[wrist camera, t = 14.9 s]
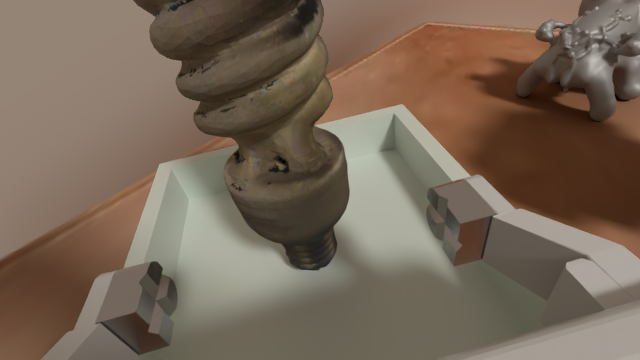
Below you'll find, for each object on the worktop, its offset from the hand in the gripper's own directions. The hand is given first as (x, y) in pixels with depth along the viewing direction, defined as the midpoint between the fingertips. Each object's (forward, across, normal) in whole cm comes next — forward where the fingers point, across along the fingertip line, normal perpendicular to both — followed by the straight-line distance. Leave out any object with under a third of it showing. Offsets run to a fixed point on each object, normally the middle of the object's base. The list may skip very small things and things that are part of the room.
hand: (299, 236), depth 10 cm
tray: (+5, 0, +8) cm, 10 cm away
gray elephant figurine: (+16, -27, +9) cm, 33 cm away
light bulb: (+5, 0, +8) cm, 9 cm away
